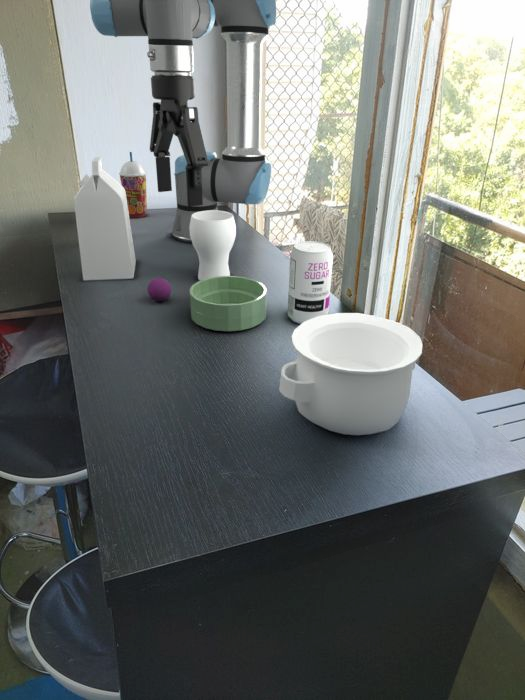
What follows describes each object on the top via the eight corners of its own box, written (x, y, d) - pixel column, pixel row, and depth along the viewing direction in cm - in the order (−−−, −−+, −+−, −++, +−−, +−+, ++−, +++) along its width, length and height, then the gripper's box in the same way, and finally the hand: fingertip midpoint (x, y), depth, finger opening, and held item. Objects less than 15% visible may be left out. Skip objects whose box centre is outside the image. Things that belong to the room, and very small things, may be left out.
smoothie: (119, 218, 171) (112, 153, 161) (129, 211, 178) (123, 149, 168) (144, 219, 170) (138, 154, 160) (153, 213, 177) (148, 150, 167)
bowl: (199, 299, 114) (198, 273, 111) (269, 304, 112) (270, 277, 110) (183, 331, 101) (181, 302, 98) (261, 336, 99) (262, 307, 96)
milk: (133, 278, 124) (121, 163, 112) (83, 280, 122) (65, 164, 110) (135, 261, 134) (124, 155, 122) (89, 263, 133) (73, 155, 120)
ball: (152, 295, 115) (150, 274, 113) (174, 296, 115) (173, 275, 113) (145, 304, 111) (143, 282, 109) (168, 305, 111) (166, 283, 108)
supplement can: (305, 306, 112) (309, 237, 105) (335, 318, 107) (342, 247, 100) (279, 316, 107) (281, 245, 100) (309, 330, 102) (314, 256, 95)
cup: (229, 288, 120) (229, 223, 113) (185, 283, 122) (182, 219, 114) (240, 272, 129) (240, 211, 122) (199, 268, 131) (197, 208, 124)
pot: (311, 467, 67) (318, 387, 62) (257, 397, 81) (258, 327, 75) (444, 426, 76) (461, 352, 70) (374, 369, 89) (383, 303, 83)
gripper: (126, 72, 98) (137, 187, 108) (184, 76, 80) (190, 214, 90) (163, 72, 102) (170, 184, 112) (226, 76, 84) (228, 209, 94)
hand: (179, 198), depth 101 cm, fingers open, 13 cm apart
